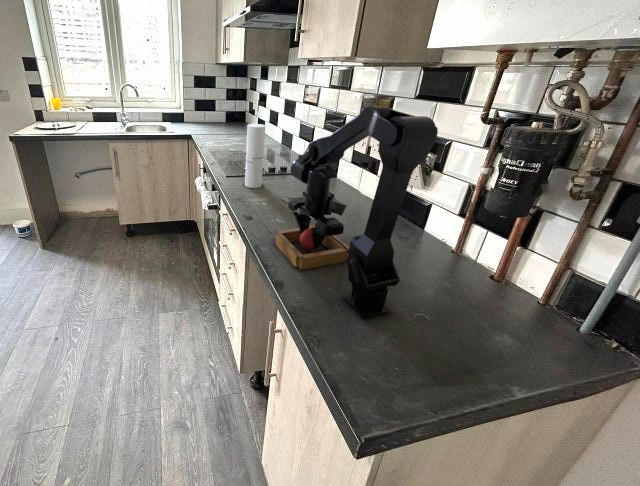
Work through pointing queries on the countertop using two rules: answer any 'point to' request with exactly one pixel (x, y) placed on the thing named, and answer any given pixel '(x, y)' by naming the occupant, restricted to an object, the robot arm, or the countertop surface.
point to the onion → (307, 239)
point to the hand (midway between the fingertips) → (310, 242)
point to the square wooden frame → (311, 260)
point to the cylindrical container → (254, 155)
